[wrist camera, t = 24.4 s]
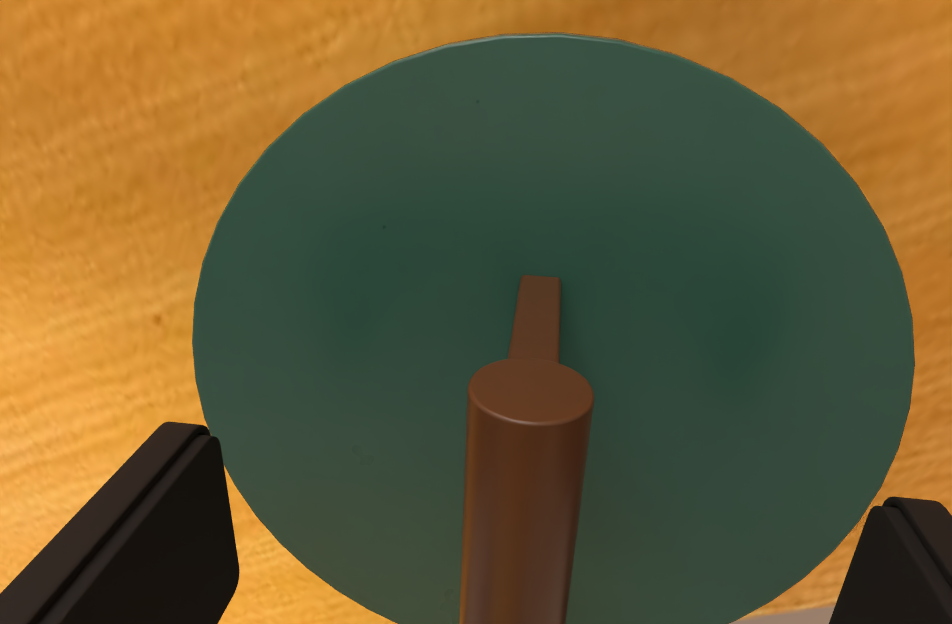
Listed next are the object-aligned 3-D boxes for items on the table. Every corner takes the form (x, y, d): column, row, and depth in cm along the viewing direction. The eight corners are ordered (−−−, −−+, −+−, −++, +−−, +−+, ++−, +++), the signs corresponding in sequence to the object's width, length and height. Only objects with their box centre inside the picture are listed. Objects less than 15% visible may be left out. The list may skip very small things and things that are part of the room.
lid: (252, 584, 17) (116, 839, 12) (171, 12, 12) (-154, 26, 6) (794, 652, 16) (905, 971, 11) (999, 49, 10) (1442, 102, 5)
